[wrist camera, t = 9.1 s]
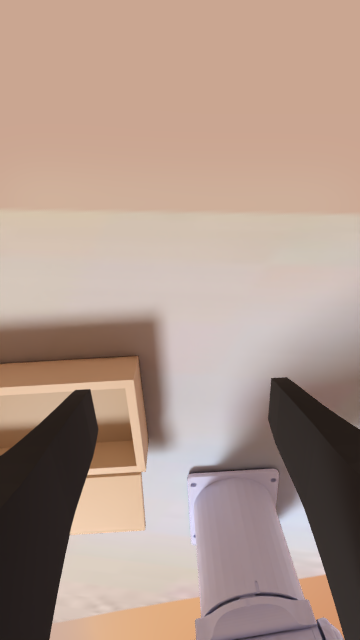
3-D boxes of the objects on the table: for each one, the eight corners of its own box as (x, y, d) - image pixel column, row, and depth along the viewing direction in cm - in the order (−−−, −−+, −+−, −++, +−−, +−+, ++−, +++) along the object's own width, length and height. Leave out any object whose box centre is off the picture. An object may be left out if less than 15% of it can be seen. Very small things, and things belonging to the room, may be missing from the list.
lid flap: (140, 475, 23) (141, 469, 23) (-68, 487, 22) (-62, 482, 23) (144, 530, 23) (145, 523, 24) (-58, 542, 23) (-52, 536, 24)
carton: (148, 440, 25) (145, 471, 23) (-47, 452, 25) (-74, 484, 22) (138, 355, 22) (133, 379, 19) (-86, 368, 22) (-122, 394, 19)
